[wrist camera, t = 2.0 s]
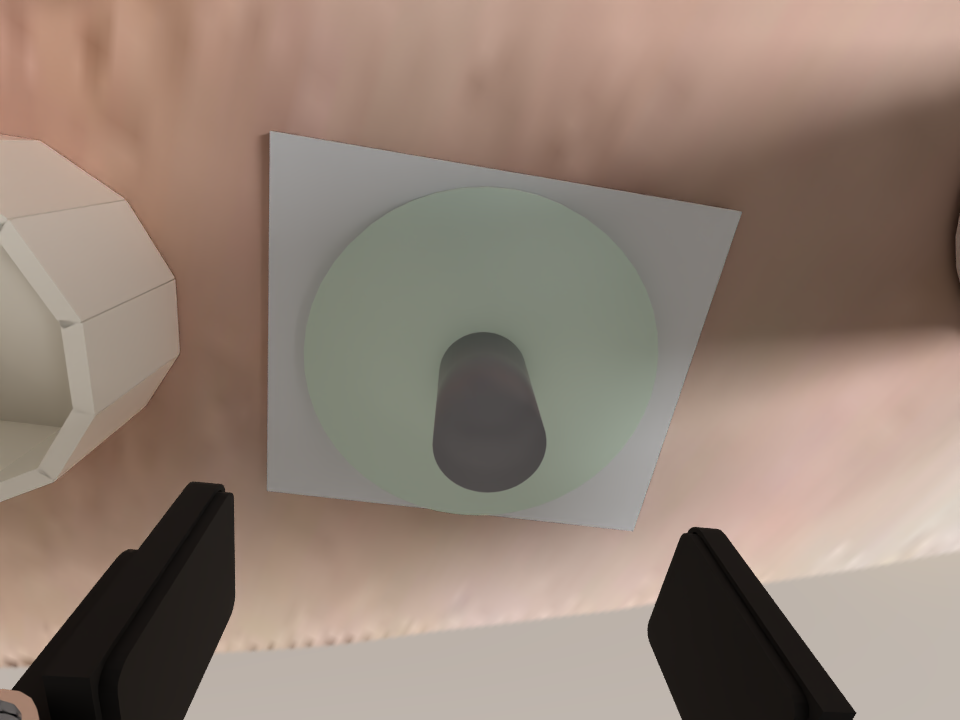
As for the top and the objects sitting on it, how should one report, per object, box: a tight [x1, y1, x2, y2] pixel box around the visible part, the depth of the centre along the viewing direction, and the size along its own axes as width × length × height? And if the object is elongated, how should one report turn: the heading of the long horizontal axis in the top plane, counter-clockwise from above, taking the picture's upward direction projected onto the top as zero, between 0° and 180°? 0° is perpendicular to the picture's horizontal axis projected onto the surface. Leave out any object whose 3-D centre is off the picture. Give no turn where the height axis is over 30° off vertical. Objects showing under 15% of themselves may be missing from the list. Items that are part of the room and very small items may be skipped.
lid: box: [304, 186, 658, 515], centre depth 17 cm, size 13×13×6 cm
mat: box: [267, 131, 742, 531], centre depth 20 cm, size 16×14×1 cm
